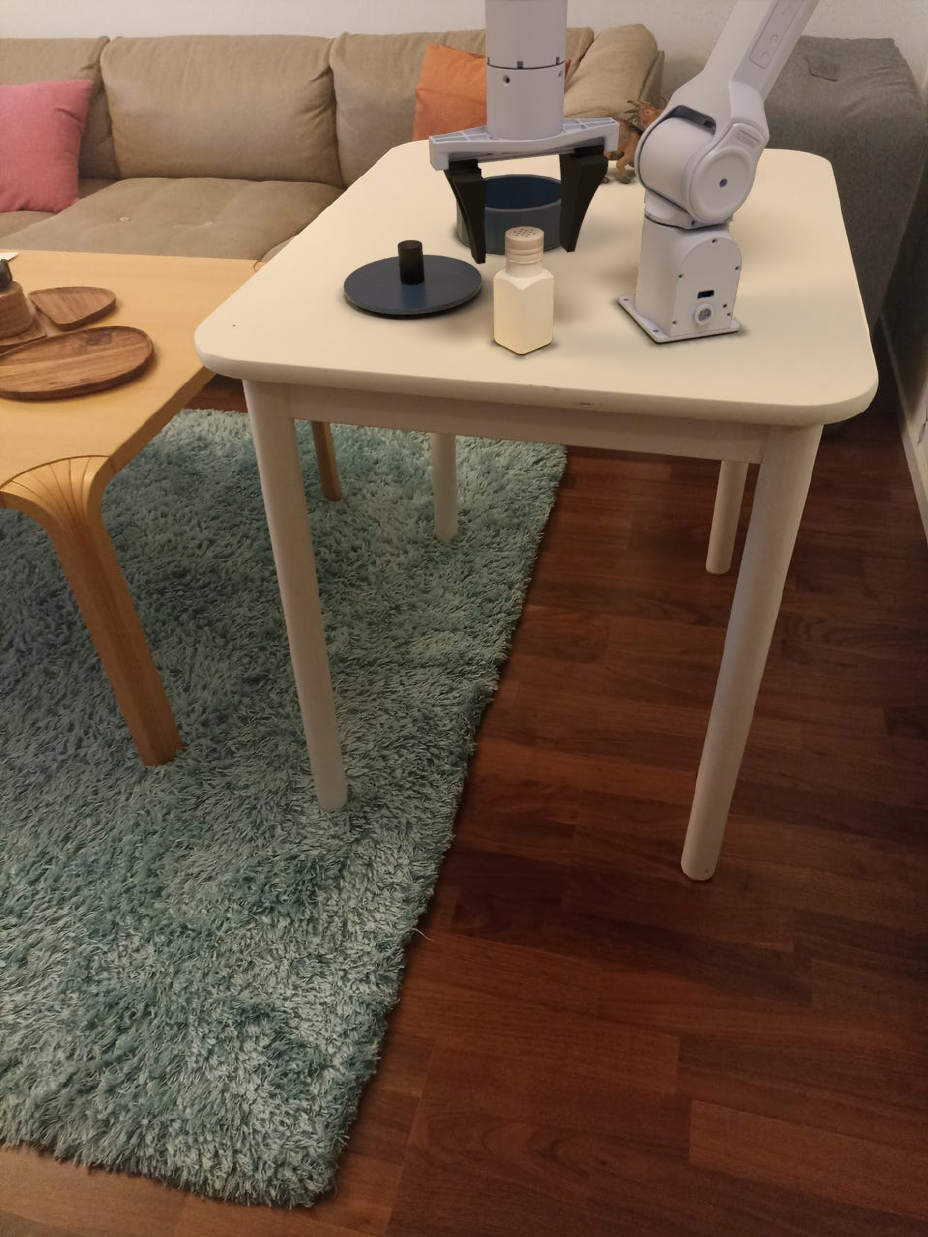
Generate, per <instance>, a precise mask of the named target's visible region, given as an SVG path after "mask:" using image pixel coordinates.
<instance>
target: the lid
mask: <svg viewBox="0 0 928 1237" xmlns="http://www.w3.org/2000/svg"><path fill="white" fill-rule="evenodd" d="M423 246H424V245H423V243H422V241H420V240H416V239H405V240H402V241H399V243H398V244H397V256H391V257H386V258H382V259H379V260H375V261H372V262H369V263H367V264H364V265H362V266H360V267H357V268H356V269H355V270H353V271H352V272H351V273H349V274H348V275H347V277H346V278H345V280H344V282H343V291H344V296H345V297H346V299H347V300H348V301H349V302H351V303H352V304H353V305H355V306H357V307H359V308H362V309H364V310H367V311H370V312H375V313H380V314H388V315H422V314H430V313H435V312H439V311H445V310H447V309H451V308H454V307H457V306H459V305H462V304H464V303H465V302H467V301H469V300H471V299H472V298H474V297H475V296H476V295H477V294H478V293H479V292H480V290H481V289H482V285H483V284H482V283H483V278H482V274H481V272H480V270H479V269H478V268H476V266H474V265H473V264H471V263H469V262H467V261H464V260H462V259H459V258H456V257H451V256H446V255H439V254H424V248H423Z"/></svg>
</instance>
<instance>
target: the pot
mask: <svg viewBox="0 0 928 1237" xmlns="http://www.w3.org/2000/svg"><path fill="white" fill-rule="evenodd" d="M483 178H484V179H485V180H486V182H487V190H486V200H485V219H484V227H485V242H486V254H487V253H488V254H494V255H505V233H506V231H508V230H510V229H512V228H516V227H534V228H539V229H540V230H542V231H543V232H544V241H543V252H546V251H549V250H552V249H555V248H557V247H561V245H560V243H559V224H560V210H561V179H557V178H555V177H551V176H546V175H539V174H533V173H532V174H531V173H509V174H508V173H507V174H500V175H493V176H486V177H483ZM455 204H456V206H455V207H456V208H455V209H456V228H457V230H456V232H457V234H458V239H459V241H460V242H461V243H462V244H463V245H464V246H466V247H467V248H470V243H469V238H468V234H467V230H466V226H465V223H464V220H463V217H462V214H461V211H460V208H459V205H458V203H457V200H456V199H455Z"/></svg>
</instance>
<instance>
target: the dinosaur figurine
mask: <svg viewBox="0 0 928 1237" xmlns="http://www.w3.org/2000/svg"><path fill="white" fill-rule="evenodd" d="M660 98H661V99H662V101H663V102H664V103H665V108H666V107H667V105H668V103H669V101H670V99H668V98H667V97H665V96H664V95H660ZM626 103H627V104H632V105H633V106H635V107H636V108H630V109H628V110H626V111H624V112H623V113H624V114H633V115H631V116H630V117H628V118H627V119H625V118H622V117H621V118H620V117H615V116H614V117H611V118H612V119H614V120H615V121H617V122H618V123H619V124H620V126H619V138H618V150H617V151H610V152H604V156H606V157H607V158H608V159H609V162H615V161H616V163H615V166H616V170H617V171H618V173H619V175H620V181H621V183H624V184H629V183H632V181H631V179H630V178H628V175H627V171H626V166H627V165H628V166H629V167H631V168H633V169H634V158H635V152H636V148H637V145H638V142H639V140H640V138H641V136H642V135H643V133H644V132H645V130H646V129H647V128H648V127H649V125H650V124H651V123H653V122H654V121H655V120H656V119H657V118H658V117H659V116H660V115H661V114H662V113H663V111H664V110H665V108H662V109H659V108H657V109H656V107H655V106H654V105H652V102H651V101H649V102H648V101H645V100H643V99H642V100H641V99H640V100H638V101H637V100H631V99H629V100H627V101H626ZM632 120H634V123H632V122H630V121H632ZM637 122H638V124H640V126H641V127H642V128H643V130H642V129H641V128H639V127H638V126H636V125H635V124H636V123H637ZM610 180H611V179H610V178H609V177H608V176H605V177H604V179H603V180H602V182H601V183H600V185H601V184H603V183H604V184H607V183H608V182H609V181H610Z"/></svg>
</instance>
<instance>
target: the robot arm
mask: <svg viewBox="0 0 928 1237" xmlns="http://www.w3.org/2000/svg"><path fill="white" fill-rule="evenodd" d="M820 1H821V0H737V3H736V4H735V6H734V8H733V10H732V12H731V13H730V16H729V18H728V20H727V22H726V24H725V26H724V28H723V30H722V32H721V34H720V36H719V38H718V40H717V41H716V43H715V46H714V48H713V50H712V51H711V54H710V56H709V57H708V60H707V62H706V64H705V66H704V68H703V70H702V71H700V73H698V74H697V75H696V76H694V77H693V78H692V79H690V80H688V81H687V82H686V83H684V84H682V86H680V87H679V88H677V89H676V90H675V91H674V92H673V93H672V95H671V97H670V99H669V103H668V105H667V107H666V106H665V108H664V109H665V110H664V111H663V113H662V114H661V115H660V116H659V117H658V118H657V119H656V120H655V121H654V122H653V123H651V124H650V125H649V127H648V128H647V129H644V130H645V132H644V133H643V135H642V136H641V138H640V140H639V142H638V145H637V148H636V152H635V158H634V168H633V169H634V174H635V177H636V180H637V181H638V183H639V184H640V186H642V188H643V189H644V198H643V204H644V213H643V221H642V228H641V239H640V241H641V242H640V248H639V249H640V250H639V260H638V269H637V277H636V278H637V279H636V287H635V288H636V289H635V293H634V294H626V295H621V296H619V297H618V303H619V304H620V305H621V306H622V307H623V309H625V310H626V311H627V313H628V314H629V315H630V316H631V317H632V318H633V319H634V320H635V321H636V322H637V323H638V324H639V326H641V328H642V329H643V330H644V331H645V332H646V333H647V334H648V335H649V336H650V337H651V338H652V339H653V340H654V341H655V342H657V343H666V342H673V341H679V340H686V339H691V338H699V337H707V336H712V335H718V334H726V333H732V332H737V331H739V329H740V326H741V325H740V323H738V322H737V321H736V320H735V319H734V318H733V315H734V310H735V304H736V298H737V294H738V290H739V289H738V288H739V283H740V278H741V272H742V266H743V256H742V252H741V250H740V248H739V245H738V244H737V243H736V242H735V240H734V238H733V237H732V235H731V229H730V223H731V222H733V220H734V214H735V213H737V212H738V211H739V210H740V208H742V206H743V205H744V203H745V202H746V200H747V199H748V197H749V195H750V193H751V191H752V189H753V186H754V183H755V179H756V174H757V169H758V164H759V161H760V159H761V156H762V154H763V152H764V150H765V149H766V146H767V145H768V143H769V141H770V130H769V126H768V120H767V116H766V112H765V111H766V110H765V101H766V100H767V97H768V96H769V94H770V93H771V90H772V89H773V87H774V85H775V83H776V81H777V79H778V78H779V76H780V74H781V73H782V71H783V69H784V67H785V65H786V63H787V61H788V59H789V57H791V56H790V55H791V54H792V52H793V50H794V49H795V47H796V45H797V43H798V41H799V40H800V38H801V36H802V34H803V32H804V31H805V28H806V27H807V25H808V23H809V21H810V19H811V17H812V16H813V13H814V12H815V10H816V8H817V6H818V4H820ZM568 2H569V0H484V8H485V9H484V18H485V19H484V20H485V21H484V22H485V24H484V25H485V26H484V27H485V29H484V30H485V78H486V80H485V81H486V82H485V83H486V84H485V85H486V86H485V87H486V89H485V90H486V91H485V92H486V125H481V126H477V127H472V128H468V129H463V130H458V131H454V132H449V133H443V134H437V135H429V136H428V150H429V164H430V165H431V167H432V169H434V171H436V172H438V171H439V172H440V171H442V172H443V174H444V176H445V178H446V181H447V182H448V184H449V186H450V189H451V191H452V194H453V195H454V198H455V201H456V200H457V203H458V205H459V208H460V211H461V214H462V217H463V220H464V223H465V226H466V230H467V234H468V238H469V243H470V247H469V248H470V256H471V258H472V259H473V261H474V262H475V263H476V265H482V264H486V262H487V252H486V242H485V227H484V219H485V200H486V190H487V182H486V180H485V179H484V178H485V177H484V176H483V175H482V174H483V172H482V170H483V169H482V168H481V167H479V164H485V163H493V162H504V161H512V160H523V159H530V158H540V157H548V156H557V155H558V161H559V175H560V177H559V178H560V180H561V210H560V224H559V243H560V247H561V248H562V249H563V250H564V251H565V253H567V254H569V253H575V252H576V248H577V244H578V240H579V236H580V232H581V229H582V226H583V222H584V220H585V217H586V215H587V212H588V209H589V207H590V205H591V202H592V200H593V198H594V196H595V195H596V192H597V191H598V189H599V187H600V186H601V184H602V183H603V182H602V180H603V179H604V177H607V174H608V170H609V163H610V161H609V159H608V158H607V157H606V156H604V152H610V151H617V150H618V138H619V126H620V124H619V123H618V122H617V121H615V120H614V119H612V118H613V117H610V116H607V117H595V118H564V110H565V109H564V106H565V103H564V102H565V84H566V83H565V82H566V81H565V80H566V79H565V78H566V54H567V52H566V51H567V31H568V30H567V29H568ZM714 128H715V129H714ZM601 182H602V183H601ZM600 183H601V184H600Z"/></svg>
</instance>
